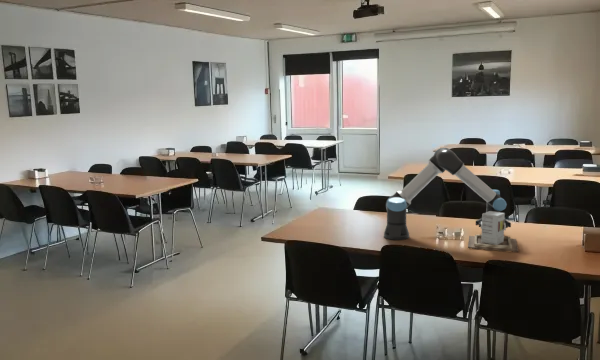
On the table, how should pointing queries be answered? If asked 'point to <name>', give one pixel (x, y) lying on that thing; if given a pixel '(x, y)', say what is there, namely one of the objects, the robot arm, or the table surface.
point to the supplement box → (493, 227)
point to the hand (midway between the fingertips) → (493, 227)
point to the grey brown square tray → (504, 246)
